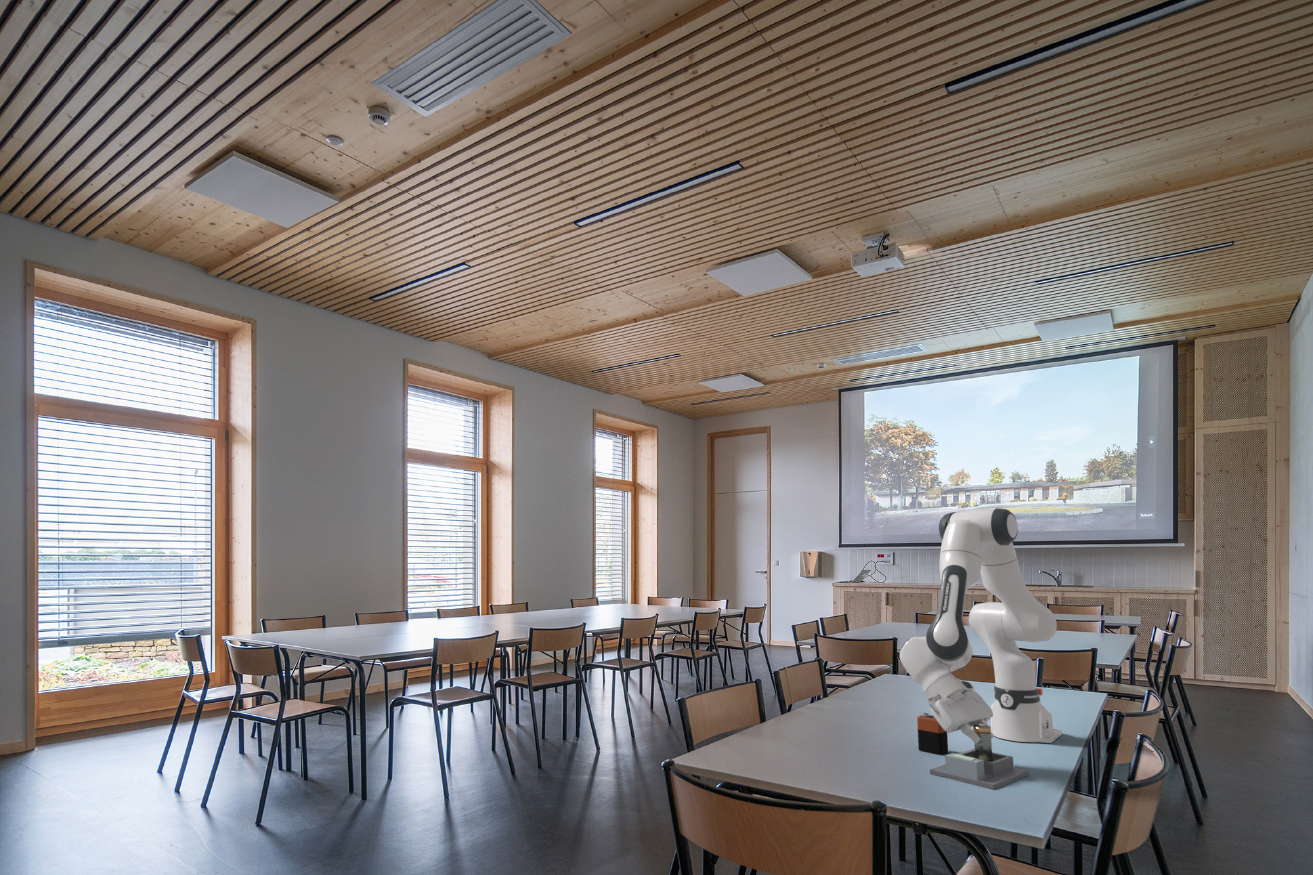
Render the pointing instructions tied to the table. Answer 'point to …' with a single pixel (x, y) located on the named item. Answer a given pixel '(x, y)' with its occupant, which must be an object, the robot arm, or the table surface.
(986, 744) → the cell
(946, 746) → the battery
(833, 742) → the table surface
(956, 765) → the tester
